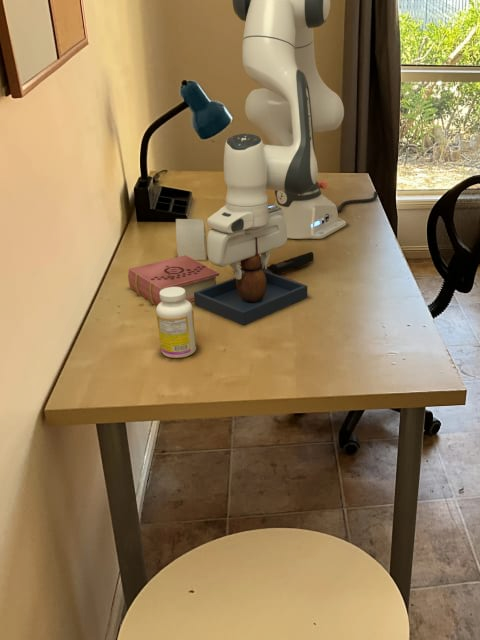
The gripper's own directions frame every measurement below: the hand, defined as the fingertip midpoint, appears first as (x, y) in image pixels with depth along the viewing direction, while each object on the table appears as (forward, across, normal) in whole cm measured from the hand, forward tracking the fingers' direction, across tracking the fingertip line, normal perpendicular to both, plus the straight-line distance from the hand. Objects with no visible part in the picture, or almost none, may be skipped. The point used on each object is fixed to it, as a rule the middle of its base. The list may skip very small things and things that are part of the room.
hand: (250, 274), depth 166 cm
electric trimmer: (+7, -19, -7) cm, 21 cm away
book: (+7, +8, -17) cm, 20 cm away
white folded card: (+7, -9, -31) cm, 33 cm away
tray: (+7, 0, 0) cm, 7 cm away
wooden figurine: (+6, 0, 0) cm, 6 cm away
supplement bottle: (+7, +26, +7) cm, 28 cm away
